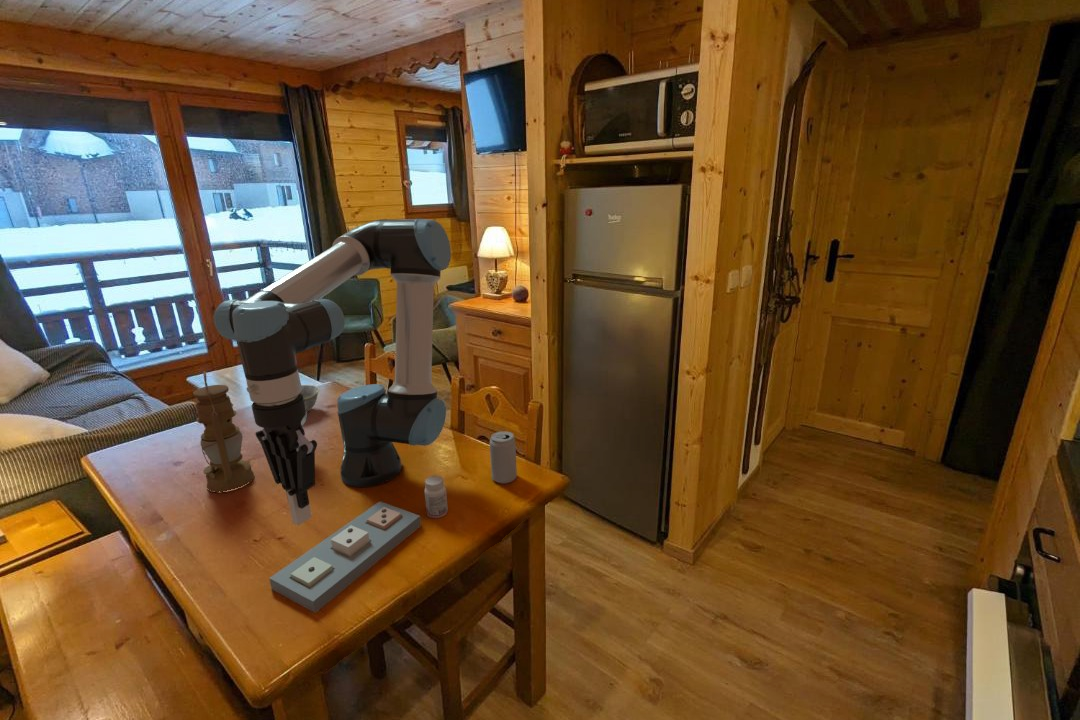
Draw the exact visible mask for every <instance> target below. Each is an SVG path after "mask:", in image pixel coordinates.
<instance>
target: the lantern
mask: <svg viewBox="0 0 1080 720" xmlns="http://www.w3.org/2000/svg"><path fill="white" fill-rule="evenodd" d="M202 373H203V374H202V375H203V379H204V386H203V387H200V388H197V389H195V390H194V391H193V392H192V393H193V397H194V398H196V399H197V401H196V409H197V410H196V411H195V413H196V414H197V415H198V417H197V418H196V423H198V424H201V425H203V426H204V430H203V433H202V434H200V447H201V452H202V454H203V456H204V459H205V460H206V463H207V464H208V465H207V466H206V467H205V468H204V469H203V474H205V478H206V489H207V488H208V489H209V490H211V491H215V492H219V491H220V492H223V491H227V490H231V489H235V488H238V487H241V486H243V485H245V484H247V483H248V482H250V481H251V480H252V479H253V480H254V478H255V473H254V471H253V470H252V466H251V462H249V461H247V460H243V457H244V456H243V453H241V452H242V445H243V434H242V433H243V432H241V430H240V427H239V426H237V425H236V424H234V423H233V418H234V417H235V416H236V415H237V414H238V413H237V410H234V404H233V403H232V402H231V398H230V396H229V395H228V394H227V393H228V392H229V390H230V389H229V386H228V385H227V384H212V385H208V383H207V371H205V370H203V372H202ZM207 458H208V459H209V461H208V460H207ZM253 477H254V478H253ZM208 489H207V490H208Z"/></svg>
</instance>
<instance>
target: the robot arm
mask: <svg viewBox="0 0 1080 720" xmlns="http://www.w3.org/2000/svg"><path fill="white" fill-rule="evenodd" d="M451 257H452V250H451V243H450V239H449V237H448V234H447V231H446V230H445V228H444V227H443V226H442V224H441V223H440V222H438V221H437V220H434V219H429V218H428V219H427V218H403V219H402V218H399V219H386V218H384V219H383V218H382V219H375V220H371V221H370V222H369V221H368V222H366V223H364V224H361V225H359V226H356V227H354V228H353V229H351V230H349V231H347V232H345V233H343V234H341V236H339V237H337V238H336V239H334V241H333V242H332V246H331V247H329V248H328V249H326V250H325V251H323V252H321V253H320V254H319V255H317V256H315V257H313V258H312V259H309V260H308V261H307V262H305V263H303V264H302V265H300V266H298V267H296V268H295V269H293V270H292V271H290V272H288V273H287V274H285V275H284V276H282V277H280V278H279V279H277V280H276V281H274V282H272V283H271V284H269V285H267V286H266V287H264V288H262V289H261V290H259V291H258V292H256V293H254V294H253V295H250V296H249V297H247V298H245V299H241V298H235V299H229V300H228V299H227V300H225V301H222V302H221V303H220V304H219V305H218V306H217V308H216V309H215V311H214V315H213V322H214V327H215V329H216V330H217V332H218V334H219V335H220V336H222V337H223V338H225V339H227V340H230V341H231V340H232V341H236V345H237V349H238V352H239V357H240V361H241V365H242V369H243V373H244V377H245V381H246V385H247V387H246V391H247V392H248V395H249V399H250V401H251V402H252V403H251V410H252V415H253V418H254V423H255V424H256V426H258V427H259V428H262V429H260V430H258V431H256V432H255V437H256V438H257V441H259V444H261V447H262V451H263V453H264V457H265V459H266V462H267V463H268V466H269V470H270V473H271V475H272V477H273V479H274V482H275V484H276V485H281V487H282V489H283V490H284V491H285V494H286V497H287V498H286V499H287V502H288V506H289V512H290V515H291V516H290V517H291V520H292V521H291V522H292V524H294V525H296V526H298V527H299V526H300V525H302V524H303V523H305V522H307V521H308V520H310V519H311V518H312V517H313V516H312V512H311V506H310V500H309V495H308V494H309V493H308V490H310V489H311V488H313V487H315V485H316V466H315V465H316V464H315V463H316V462H315V461H316V460H315V459H316V458H315V456H316V454H315V453H316V449H317V447H318V442H317V441H316V440H315V439H312V440H309V439H307V437H306V436H305V435H306V433H305V432H306V431H305V429H304V427H303V426H302V425H301V421H302V419H303V417H304V416H305V414H306V410H305V405H304V399H303V395H301V394H300V393H301V391H302V387H301V385H302V383H301V378H300V372H299V369H298V361H297V357H296V355H297V354H299V353H302V352H304V351H307V350H310V349H311V348H315V347H316V346H320V345H323V344H326V343H329V342H330V341H331V340H333V339H335V338H337V337H339V336H340V335H341V334H342V332H343V331H344V329H345V326H346V323H345V315H344V312H343V310H342V309H341V308H340V306H339V305H338V304H337V303H336V302H334V301H333V300H331V299H328V298H324V297H325V296H327V295H328V294H330V293H331V292H332V291H334V290H336V288H338V287H339V286H341V285H342V284H343V283H345V282H346V281H348V280H349V279H351V278H352V277H353V276H361V275H364V274H365V273H367V272H368V271H371V270H378V269H387V270H390V277H391V278H392V279H393V280H394V281H395V283H396V312H395V314H396V315H395V355H394V356H395V357H394V358H395V359H394V361H395V364H394V366H395V367H394V383H393V384H392V385H391V386H390V387H389V388H388V390H387V389H386V388H385V386H384V385H382V384H378V383H372V384H364V385H360V386H357V387H354V388H351V389H348V390H346V391H344V392H343V393H341V394H340V395H339V396H338V397H337V402H336V404H337V415H338V421H339V427H340V433H341V439H342V443H343V456H342V462H341V465H340V470H339V471H340V477H341V482H343V483H344V484H346V485H348V486H350V487H354V488H369V487H373V486H374V487H376V486H378V485H379V486H380V485H381V484H384V483H387V482H389V481H390V480H392V479H395V477H397V476H398V475H399V474H400V472H401V470H402V460H401V457H400V454H399V453H398V451H397V449H396V447H395V445H394V443H397V444H405V445H410V446H430V445H432V444H433V443H434V442H435V441H436V440H437V439H438V438H439V437H440V434H441V433H442V431H443V428H444V426H445V422H446V417H447V407H446V404H445V401H444V400H443V399H441V398H438V389H437V387H435V386H434V385H433V384H432V370H433V369H432V367H433V366H432V365H433V334H434V333H433V329H434V328H433V326H434V325H433V324H434V295H435V294H434V293H435V289H434V287H435V284H437V283H438V281H440V280H441V274H442V273H441V272H442V271H444V270H446V269H447V268H448V267H449V265H450V262H451ZM386 392H387V393H386Z"/></svg>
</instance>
